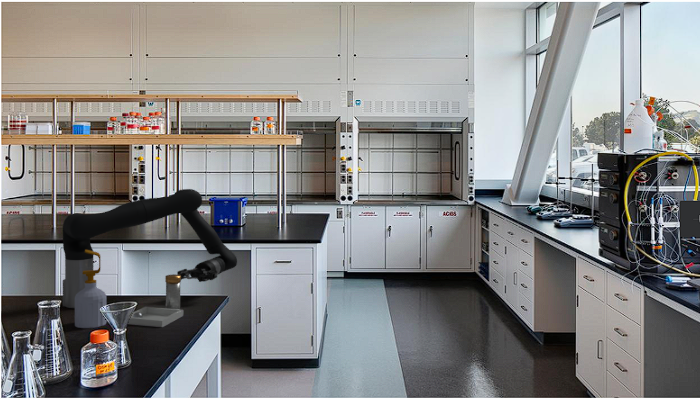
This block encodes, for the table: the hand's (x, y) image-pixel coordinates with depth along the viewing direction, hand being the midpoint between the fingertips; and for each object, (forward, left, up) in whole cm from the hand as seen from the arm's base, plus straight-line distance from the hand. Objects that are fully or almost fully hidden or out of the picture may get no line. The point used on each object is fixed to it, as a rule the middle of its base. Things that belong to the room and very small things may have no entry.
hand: (188, 278), depth 212 cm
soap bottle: (-16, -34, -10) cm, 39 cm away
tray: (0, -24, -10) cm, 26 cm away
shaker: (0, -11, -10) cm, 15 cm away
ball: (-4, -28, -9) cm, 29 cm away
